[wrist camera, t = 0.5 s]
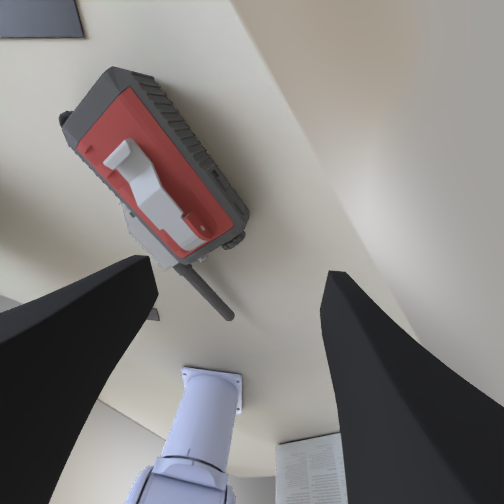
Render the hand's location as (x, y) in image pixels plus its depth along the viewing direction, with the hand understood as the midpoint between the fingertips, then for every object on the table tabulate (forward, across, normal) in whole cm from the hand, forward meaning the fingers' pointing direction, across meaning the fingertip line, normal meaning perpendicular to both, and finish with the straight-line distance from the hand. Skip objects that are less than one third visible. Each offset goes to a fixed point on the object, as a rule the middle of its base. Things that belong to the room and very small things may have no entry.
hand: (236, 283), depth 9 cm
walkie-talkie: (+10, +5, +1) cm, 11 cm away
